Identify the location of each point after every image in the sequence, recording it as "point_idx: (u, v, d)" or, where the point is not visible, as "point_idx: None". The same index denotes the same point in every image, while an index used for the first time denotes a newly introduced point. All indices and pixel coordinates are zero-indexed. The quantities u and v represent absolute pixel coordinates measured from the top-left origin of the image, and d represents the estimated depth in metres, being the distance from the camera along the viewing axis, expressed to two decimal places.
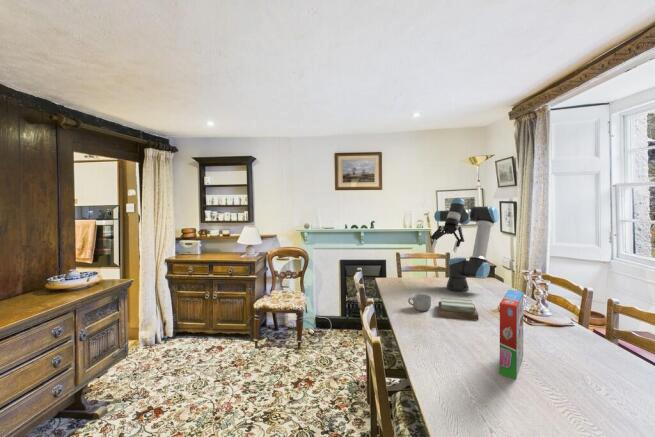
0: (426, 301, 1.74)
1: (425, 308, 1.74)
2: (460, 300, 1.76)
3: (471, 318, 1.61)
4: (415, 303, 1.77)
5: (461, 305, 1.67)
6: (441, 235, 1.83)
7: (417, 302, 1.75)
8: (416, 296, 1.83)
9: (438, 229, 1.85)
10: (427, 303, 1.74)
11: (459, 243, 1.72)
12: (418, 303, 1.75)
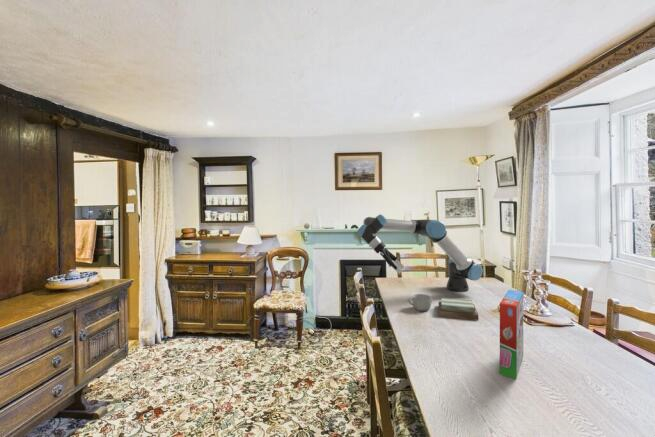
0: (426, 301, 1.74)
1: (425, 308, 1.74)
2: (460, 300, 1.76)
3: (471, 318, 1.61)
4: (415, 303, 1.77)
5: (461, 305, 1.67)
6: (391, 256, 1.88)
7: (417, 302, 1.75)
8: (416, 296, 1.83)
9: None
10: (427, 303, 1.74)
11: (393, 266, 1.75)
12: (419, 303, 1.75)
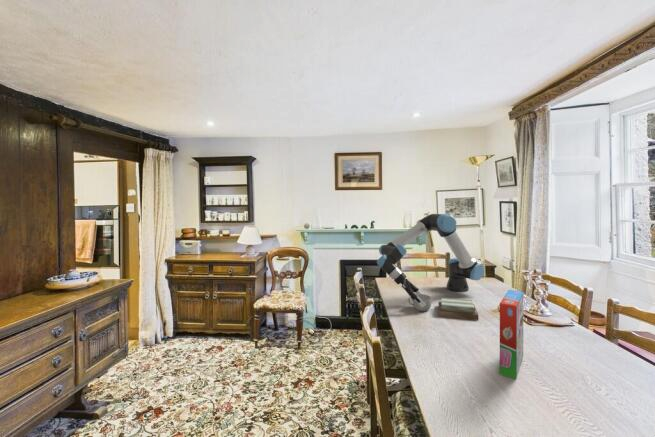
0: (426, 301, 1.73)
1: (425, 308, 1.74)
2: (460, 300, 1.76)
3: (471, 318, 1.61)
4: (415, 303, 1.77)
5: (461, 305, 1.67)
6: (412, 287, 1.84)
7: None
8: None
9: None
10: (427, 303, 1.74)
11: (417, 299, 1.72)
12: None
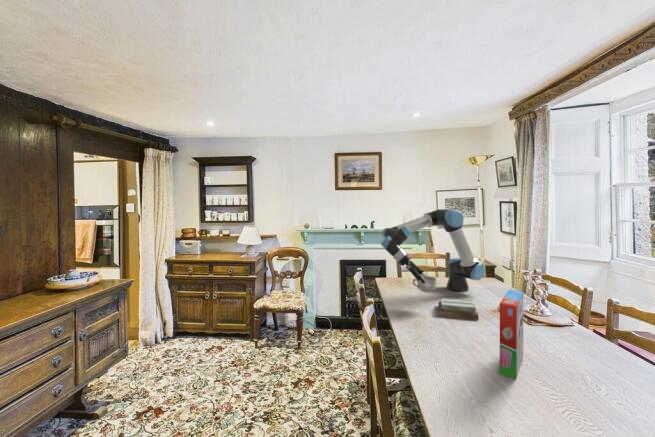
0: (431, 282, 1.71)
1: (430, 289, 1.72)
2: (460, 300, 1.76)
3: (471, 318, 1.61)
4: (420, 284, 1.74)
5: (461, 305, 1.67)
6: (416, 269, 1.82)
7: None
8: None
9: None
10: (432, 284, 1.72)
11: (421, 280, 1.70)
12: None
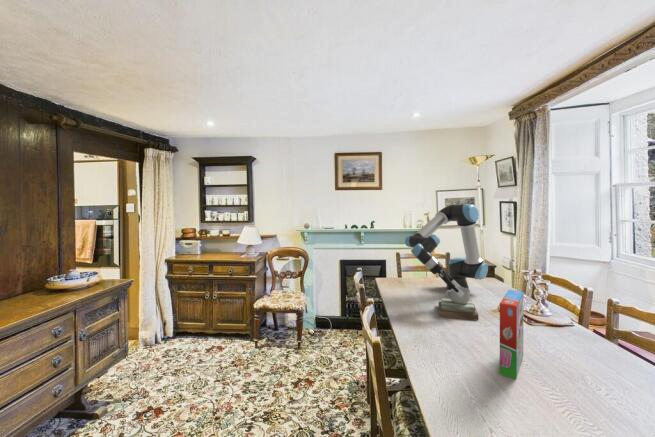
0: (466, 294, 1.66)
1: (464, 301, 1.67)
2: None
3: (471, 318, 1.61)
4: (453, 296, 1.69)
5: (461, 305, 1.67)
6: (447, 277, 1.77)
7: (456, 295, 1.68)
8: None
9: None
10: (467, 296, 1.66)
11: (455, 289, 1.64)
12: (457, 295, 1.67)
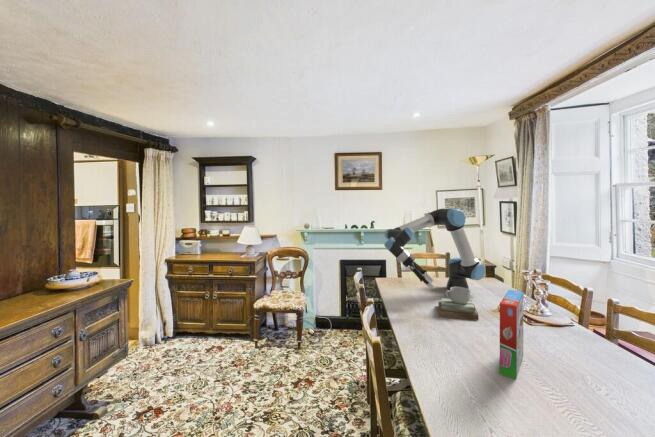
0: (465, 294, 1.66)
1: (464, 301, 1.67)
2: None
3: (471, 318, 1.61)
4: (453, 296, 1.69)
5: (461, 305, 1.67)
6: (420, 269, 1.82)
7: (456, 295, 1.68)
8: (453, 289, 1.76)
9: None
10: (466, 296, 1.66)
11: (425, 281, 1.69)
12: (457, 295, 1.67)
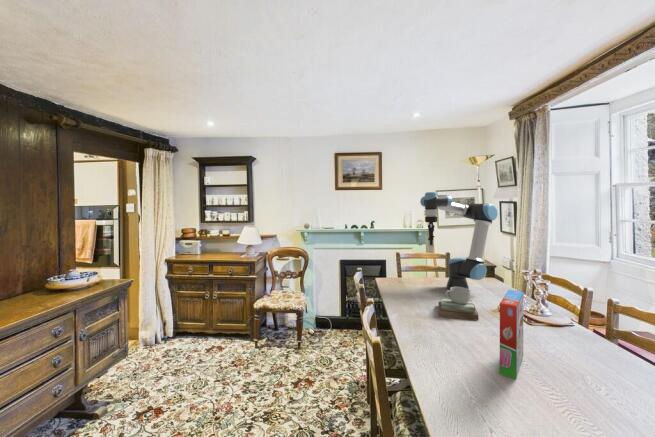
0: (466, 294, 1.66)
1: (464, 301, 1.67)
2: None
3: (471, 318, 1.61)
4: (453, 296, 1.69)
5: (461, 305, 1.67)
6: None
7: (456, 295, 1.68)
8: (453, 289, 1.76)
9: None
10: (467, 296, 1.66)
11: (431, 242, 1.83)
12: (457, 295, 1.67)
